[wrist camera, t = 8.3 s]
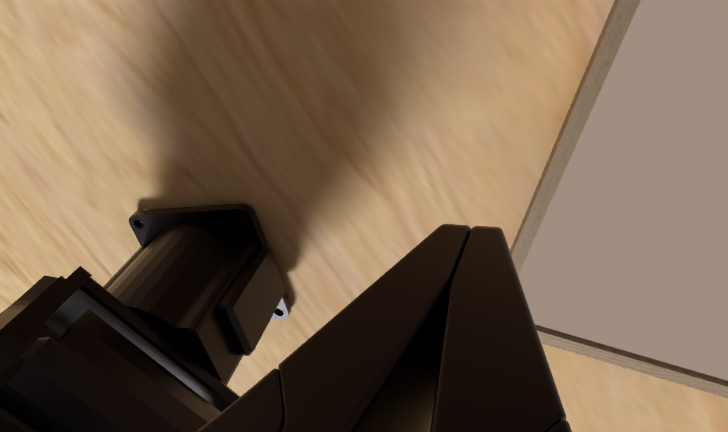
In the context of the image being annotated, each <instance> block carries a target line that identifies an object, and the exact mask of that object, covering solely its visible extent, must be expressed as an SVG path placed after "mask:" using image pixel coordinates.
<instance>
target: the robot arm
mask: <svg viewBox="0 0 728 432" xmlns="http://www.w3.org/2000/svg"><path fill="white" fill-rule="evenodd" d="M241 214H243V215H245V217H246V218H244V217H242V216H241ZM140 221H141V222H142V223H141V222H140ZM129 223H130V226H131V228H132V230H133V231H134V233H135V235H136V237H137V239H138V241H139V243H140V245H141V248H140V249H139V250H138V251H137V252H136V253H135V254H134V255H133V256H132V257H131V258H130V259H129V260H128V261H127V262H126V264H125V265H124V266H123V267H122V268H121V269H120V270H119V271H118V272H117V273H116V274H115V275H114V276H113V277H112V278H111V279H110V280H109V281H108V282H107V283H106V285H105V286H104V287H102V286H101V285H100V284H98V283H97V282H96V281H95V280H93V279H92V278H91V276H92V275H91V274H90V273H89V272H87V271H86V270H85V269H84V268H82V267H81V266H80V267H79V268H78V269H76V270H75V271H74V272H73V273H72V274H71V275H70V276H69V277H68V278H67V279H65V278H64V277H62V276H60V277H59V278H55V277H50V276H43V277H42V278H41V279H40V280H39V281H38V282H37V283H36V284H35V285H33V286H32V287H31V288H30V289H29V290H28V291H27V292H26V293H25V294H23V295H22V296H21V297H20V298H19V299H18V300H17V301H15V302H14V303H13V304H12V305H11V306H10V307H8V308H7V309H6V310H4V311H3V312H2V313H0V432H572V431H571V428H570V425H569V423H568V421H566V414H565V412H564V409H563V406H562V403H561V400H560V397H559V394H558V391H557V388H556V385H555V382H554V379H553V376H552V373H551V371H550V368H549V365H548V362H547V359H546V356H545V353H544V350H543V347H542V344H541V341H540V338H539V335H538V332H537V330H536V327H535V324H534V321H533V318H532V315H531V312H530V309H529V306H528V303H527V300H526V297H525V294H524V291H523V289H522V286H521V283H520V280H519V277H518V274H517V271H516V268H515V265H514V262H513V259H512V256H511V253H510V251H509V248H508V245H507V242H506V239H505V236H504V233H503V231H502V229H501V228H499V227H486V226H475V227H473V228H472V229H471V228H470V227H469V226H467V225H455V224H443V225H441V226H440V227H438V228H437V229H436V230H435V231H434V232H432V233H431V234H430V235H429V236H428V237H427V238H425V239H424V240H423V241H422V242H421V243H420V244H419V245H417V246H416V247H415V248H414V249H413V250H412V251H410V252H409V253H408V254H407V255H406V256H405V257H403V258H402V259H401V260H400V261H399V262H398V263H396V264H395V265H394V266H393V267H392V268H391V269H389V270H388V271H387V272H386V273H385V274H384V275H383V276H381V277H380V278H379V279H378V280H377V281H376V282H374V283H373V284H372V285H371V286H370V287H369V288H367V289H366V290H365V291H364V292H363V293H362V294H360V295H359V296H358V297H357V298H356V299H355V300H353V301H352V302H351V303H350V304H349V305H348V306H346V307H345V308H344V309H343V310H342V311H341V312H340V313H338V314H337V315H336V316H335V317H334V318H333V319H331V320H330V321H329V322H328V323H327V324H326V325H324V326H323V327H322V328H321V329H320V330H319V331H317V332H316V333H315V334H314V335H313V336H312V337H310V338H309V339H308V340H307V341H306V342H305V343H303V344H302V345H301V346H300V347H299V348H298V349H297V350H295V351H294V352H293V353H292V354H291V355H290V356H288V357H287V358H286V359H285V360H284V361H283V362H281V363H280V364H279V367H278V368H279V370H278V369H273V370H272V371H271V372H269V373H268V374H267V375H266V376H265V377H264V378H262V379H261V380H260V381H259V382H258V383H257V384H256V385H254V386H253V387H252V388H251V389H250V390H248V391H247V392H246V393H245V394H243V395H242V396H241V397H240V396H239V395H237V394H236V393H235V392H234V391H232V390H231V389H230V388H229V387H227V384H228V382H229V380H230V378H231V377H232V375H233V373H234V371H235V369H236V367H237V366H238V364H239V362H240V360H241V358H242V357H243V355H246V356H248V355H250V354H251V353H252V352H253V351H254V349H255V347H256V345H257V343H258V342H259V340H260V338H261V336H262V334H263V332H264V330H265V329H266V327H267V325H268V323H269V321H270V320H284V319H286V318H288V316H289V314H290V312H291V306H290V303H289V300H288V298H287V295H286V293H285V291H286V289H285V286H284V284H283V281H282V279H281V276H280V273H279V271H278V268H277V265H276V263H275V260H274V257H273V255H272V252H271V250H270V249H269V248H268V245H267V243H266V240H265V237H264V235H263V232H262V230H261V227H260V224H259V222H258V219H257V216H256V214H255V212H254V210H253V209H252V208H251V207H250V206H248V205H246V204H232V205H217V206H202V207H188V208H173V209H158V210H144V211H137V212H135V213H134V214H133V215H132V216H131V217H130V218H129ZM280 309H281V310H280Z"/></svg>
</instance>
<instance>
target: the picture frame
mask: <svg viewBox="0 0 728 432" xmlns="http://www.w3.org/2000/svg"><path fill="white" fill-rule="evenodd" d="M510 253H511V256H512V259H513V262H514V265H515V268H516V271H517V274H518V277H519V280H520V283H521V286H522V289H523V291H524V294H525V297H526V300H527V303H528V306H529V309H530V312H531V315H532V318H533V321H534V324H535V327H536V330H537V332H538V335H539V338H540V341H541V343H543V344H546V345H550V346H553V347H557V348H560V349H563V350H567V351H570V352H574V353H577V354H580V355H584V356H587V357H590V358H594V359H597V360H601V361H604V362H607V363H611V364H614V365H617V366H621V367H624V368H628V369H631V370H634V371H638V372H641V373H644V374H648V375H651V376H655V377H658V378H661V379H665V380H668V381H672V382H675V383H678V384H682V385H685V386H688V387H692V388H695V389H699V390H702V391H705V392H709V393H712V394H715V395H719V396H722V397H726V398H728V0H615V1H614V4H613V6H612V8H611V11H610V13H609V15H608V18H607V20H606V23H605V25H604V27H603V30H602V32H601V35H600V37H599V39H598V42H597V44H596V47H595V49H594V51H593V54H592V56H591V59H590V61H589V63H588V66H587V68H586V71H585V73H584V75H583V78H582V80H581V82H580V85H579V87H578V90H577V92H576V94H575V97H574V99H573V102H572V104H571V106H570V109H569V111H568V114H567V116H566V118H565V121H564V123H563V126H562V128H561V130H560V133H559V135H558V137H557V140H556V142H555V145H554V147H553V149H552V152H551V154H550V157H549V159H548V161H547V164H546V166H545V169H544V171H543V173H542V176H541V178H540V181H539V183H538V185H537V188H536V190H535V192H534V195H533V197H532V200H531V202H530V204H529V207H528V209H527V212H526V214H525V216H524V219H523V221H522V224H521V226H520V228H519V231H518V233H517V236H516V238H515V240H514V243H513V245H512V247H511V250H510Z"/></svg>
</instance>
